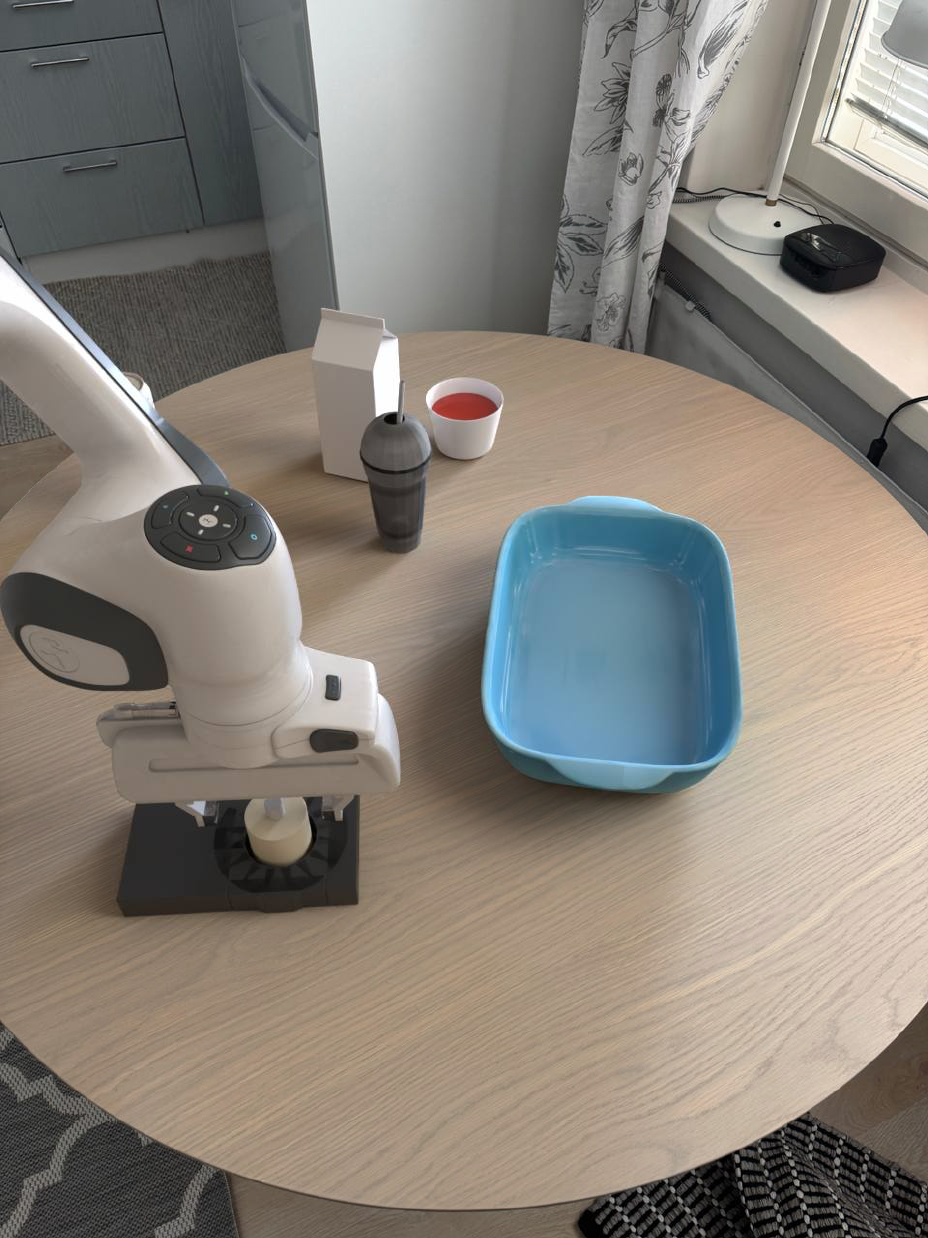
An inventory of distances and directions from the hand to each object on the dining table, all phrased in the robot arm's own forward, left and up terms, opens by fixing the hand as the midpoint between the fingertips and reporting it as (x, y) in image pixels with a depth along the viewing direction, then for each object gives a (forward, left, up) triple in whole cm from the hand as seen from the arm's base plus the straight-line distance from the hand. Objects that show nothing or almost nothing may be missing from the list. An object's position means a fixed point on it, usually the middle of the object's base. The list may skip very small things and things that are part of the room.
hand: (271, 816), depth 77 cm
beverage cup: (+10, +38, -6) cm, 40 cm away
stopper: (0, 0, -5) cm, 5 cm away
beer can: (-18, +46, -6) cm, 50 cm away
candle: (+18, +55, -6) cm, 58 cm away
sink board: (-3, 0, -5) cm, 6 cm away
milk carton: (+6, +52, -6) cm, 53 cm away
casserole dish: (+29, +18, -6) cm, 35 cm away
